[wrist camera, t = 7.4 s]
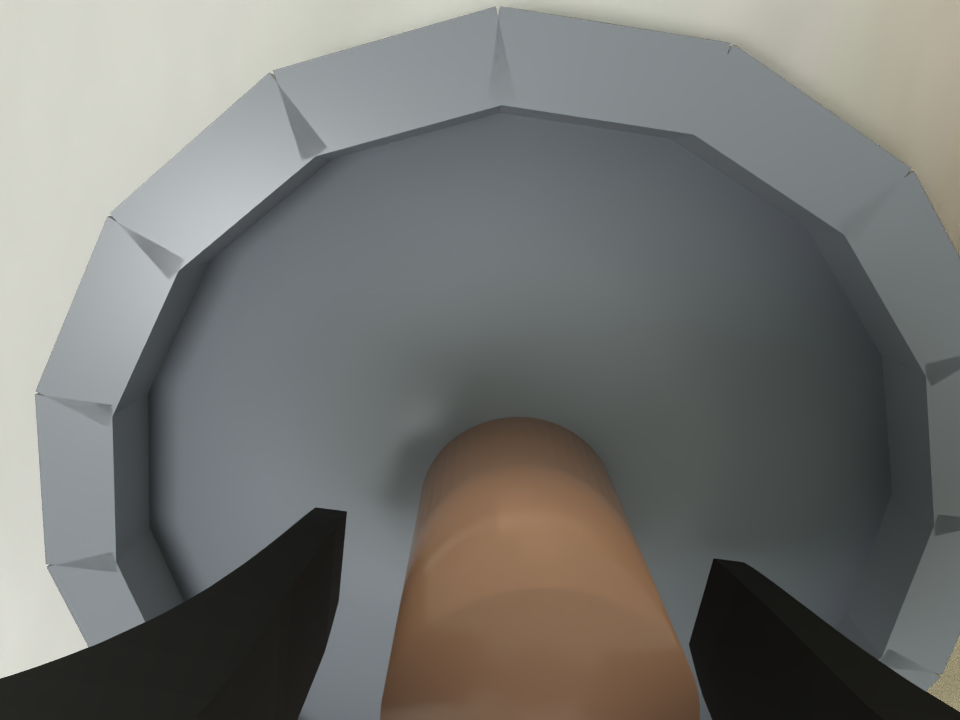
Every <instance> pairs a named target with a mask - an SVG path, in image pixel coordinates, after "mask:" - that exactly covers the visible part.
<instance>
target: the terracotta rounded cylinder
mask: <svg viewBox="0 0 960 720" xmlns="http://www.w3.org/2000/svg"><path fill="white" fill-rule="evenodd" d="M699 719H700V704H699V694H698V690H697V686H696V683H695V679H694V676H693V673H692V671H691V669H690V666H689V664H688V661H687V659H686V657H685V654H684V652H683V650H682V647H681V645H680V642H679V640H678V638H677V635H676V633H675V631H674V628H673V626H672V624H671V621H670V619H669V616H668V614H667V612H666V609H665V607H664V605H663V602H662V600H661V597H660V595H659V593H658V590H657V588H656V586H655V583H654V581H653V579H652V576H651V574H650V571H649V569H648V567H647V564H646V562H645V560H644V557H643V555H642V552H641V550H640V548H639V545H638V543H637V541H636V538H635V536H634V534H633V531H632V529H631V526H630V524H629V522H628V519H627V517H626V515H625V512H624V510H623V507H622V505H621V503H620V500H619V498H618V496H617V493H616V491H615V489H614V486H613V484H612V481H611V479H610V477H609V474H608V472H607V470H606V468H605V466H604V464H603V462H602V461H601V459H600V458H599V456H598V455H597V453H596V452H595V451H594V450H593V449H592V448H591V446H590V445H589V444H588V443H586V442H585V441H584V440H583V439H582V438H581V437H579V436H578V435H576V434H575V433H573V432H572V431H570V430H568V429H566V428H564V427H562V426H560V425H558V424H555V423H552V422H549V421H546V420H541V419H536V418H528V417H508V418H501V419H495V420H491V421H488V422H484V423H481V424H479V425H477V426H474V427H472V428H470V429H468V430H466V431H465V432H463V433H461V434H460V435H458V436H457V437H456V438H454V439H453V440H452V441H451V442H449V443H448V444H447V445H446V446H445V447H444V448H443V449H442V450H441V451H440V453H439V454H438V455H437V457H436V458H435V459H434V461H433V462H432V464H431V466H430V468H429V470H428V472H427V474H426V477H425V479H424V482H423V486H422V491H421V496H420V501H419V507H418V512H417V517H416V523H415V528H414V533H413V538H412V544H411V549H410V554H409V559H408V565H407V570H406V575H405V581H404V586H403V591H402V596H401V602H400V607H399V612H398V617H397V623H396V628H395V633H394V638H393V644H392V649H391V654H390V660H389V665H388V670H387V675H386V681H385V686H384V691H383V696H382V702H381V713H380V720H699Z"/></svg>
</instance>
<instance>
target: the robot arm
mask: <svg viewBox="0 0 960 720" xmlns="http://www.w3.org/2000/svg"><path fill="white" fill-rule="evenodd" d="M346 518H347V511H340V510H333V509H325V508H317V507H315V508H314V509H312V510H311V511H310V512H308V513H307V514H306V515H305V516H303V517H302V518H301V519H300V520H299V521H297V522H296V523H295V524H294V525H293V526H291V527H290V528H289V529H288V530H286V531H285V532H284V533H283V534H282V535H280V536H279V537H278V538H277V539H275V540H274V541H273V542H272V543H270V544H269V545H268V546H266V547H265V548H264V549H262V550H261V551H260V552H258V553H257V554H256V555H255V556H253V557H252V558H251V559H249V560H248V561H247V562H245V563H244V564H242V565H241V566H240V567H238V568H237V569H235V570H234V571H232V572H231V573H229V574H228V575H226V576H225V577H223V578H222V579H221V580H219V581H218V582H216V583H215V584H213V585H212V586H210V587H209V588H207V589H205V590H204V591H202V592H200V593H199V594H197V595H195V596H194V597H192V598H190V599H188V600H187V601H185V602H183V603H181V604H179V605H177V606H176V607H174V608H172V609H170V610H168V611H167V612H165V613H163V614H161V615H159V616H157V617H155V618H153V619H151V620H149V621H146V622H144V623H142V624H140V625H138V626H136V627H133V628H131V629H129V630H127V631H125V632H123V633H120V634H118V635H116V636H114V637H112V638H110V639H107V640H105V641H103V642H101V643H98V644H96V645H94V646H91V647H88V648H86V649H83V650H81V651H78V652H76V653H73V654H71V655H68V656H66V657H63V658H60V659H57V660H55V661H52V662H49V663H46V664H43V665H41V666H38V667H35V668H32V669H29V670H26V671H23V672H20V673H17V674H14V675H11V676H8V677H4V678H1V679H0V720H298V717H299V715H300V712H301V710H302V707H303V705H304V703H305V700H306V698H307V695H308V693H309V690H310V688H311V685H312V683H313V680H314V678H315V675H316V673H317V670H318V668H319V665H320V663H321V660H322V658H323V655H324V653H325V650H326V646H327V643H328V639H329V636H330V632H331V629H332V625H333V621H334V617H335V614H336V610H337V606H338V602H339V593H340V583H341V572H342V561H343V550H344V539H345V529H346ZM689 647H690V651H691V655H692V659H693V663H694V667H695V671H696V675H697V678H698V682H699V685H700V689H701V692H702V696H703V698H704V701H705V703H706V706H707V708H708V711H709V713H710V716H711V718H712V720H960V712H959V711H957V710H955V709H954V708H952V707H950V706H949V705H947V704H946V703H944V702H942V701H941V700H939V699H937V698H936V697H934V696H933V695H931V694H929V693H928V692H926V691H924V690H923V689H921V688H919V687H918V686H916V685H915V684H913V683H912V682H910V681H909V680H907V679H906V678H904V677H902V676H901V675H899V674H898V673H896V672H895V671H894V670H892V669H891V668H889V667H888V666H886V665H885V664H883V663H882V662H881V661H879V660H878V659H876V658H875V657H873V656H872V655H870V654H869V653H868V652H866V651H865V650H863V649H862V648H860V647H859V646H858V645H856V644H855V643H854V642H852V641H851V640H849V639H848V638H847V637H845V636H844V635H843V634H841V633H840V632H838V631H837V630H836V629H834V628H833V627H832V626H830V625H829V624H828V623H826V622H825V621H824V620H822V619H821V618H820V617H818V616H817V615H816V614H815V613H813V612H812V611H811V610H809V609H808V608H807V607H805V606H804V605H803V604H801V603H800V602H799V601H798V600H796V599H795V598H794V597H792V596H791V595H790V594H788V593H787V592H786V591H784V590H783V589H782V588H780V587H779V586H778V585H776V584H775V583H774V582H772V581H771V580H770V579H768V578H767V577H766V576H764V575H763V574H761V573H760V572H759V571H757V570H756V569H754V568H753V567H751V566H749V565H748V564H746V563H744V562H739V561H731V560H723V559H715V558H713V562H712V565H711V569H710V572H709V576H708V579H707V583H706V586H705V590H704V593H703V597H702V600H701V604H700V607H699V611H698V614H697V618H696V621H695V624H694V628H693V631H692V635H691V638H690V642H689Z"/></svg>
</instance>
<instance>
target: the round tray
mask: <svg viewBox="0 0 960 720" xmlns="http://www.w3.org/2000/svg"><path fill="white" fill-rule="evenodd" d="M729 45H730V43H728V42H721V41H715V40H709V39H703V38H696V37H690V36H684V35H677V34H671V33H665V32H659V31H652V30H646V29H640V28H633V27H627V26H621V25H615V24H608V23H602V22H596V21H589V20H583V19H577V18H571V17H564V16H558V15H552V14H545V13H539V12H533V11H527V10H520V9H514V8H508V7H501V6H500V11H499V18H498V15H497V11H496V7H492V8H489V9H485V10H482V11H478V12H475V13H471V14H468V15H464V16H461V17H457V18H454V19H450V20H447V21H444V22H440V23H437V24H433V25H430V26H426V27H423V28H419V29H416V30H412V31H409V32H405V33H402V34H398V35H395V36H391V37H388V38H384V39H381V40H377V41H374V42H370V43H367V44H363V45H360V46H357V47H353V48H350V49H346V50H343V51H339V52H336V53H332V54H329V55H325V56H322V57H318V58H315V59H311V60H308V61H304V62H301V63H297V64H294V65H290V66H287V67H283V68H280V69H276V70H273V72H274V75H273V74H271V73H268V74H267V75H266V76H265V77H264V78H262V79H261V80H260V81H259V82H258V83H257V84H256V85H255V86H253V87H252V88H251V89H250V90H249V91H248V92H247V93H245V94H244V95H243V96H242V97H241V98H240V99H239V100H238V101H236V102H235V103H234V104H233V105H232V106H231V107H230V108H228V109H227V110H226V111H225V112H224V113H223V114H222V115H221V116H219V117H218V118H217V119H216V120H215V121H214V122H213V123H211V124H210V125H209V126H208V127H207V128H206V129H205V130H204V131H202V132H201V133H200V134H199V135H198V136H197V137H196V138H194V139H193V140H192V141H191V142H190V143H189V144H188V145H187V146H185V147H184V148H183V149H182V150H181V151H180V152H179V153H177V154H176V155H175V156H174V157H173V158H172V159H171V160H170V161H168V162H167V163H166V164H165V165H164V166H163V167H162V168H160V169H159V170H158V171H157V172H156V173H155V174H154V175H153V176H151V177H150V178H149V179H148V180H147V181H146V182H145V183H143V184H142V185H141V186H140V187H139V188H138V189H137V190H136V191H134V192H133V193H132V194H131V195H130V196H129V197H128V198H126V199H125V200H124V201H123V202H122V203H121V204H120V205H119V206H117V207H116V208H115V209H114V210H113V211H112V212H111V213H110V214H111V216H109V217H107V219H106V221H105V223H104V226H103V228H102V231H101V233H100V236H99V238H98V241H97V243H96V245H95V248H94V250H93V253H92V255H91V258H90V260H89V262H88V265H87V267H86V270H85V272H84V275H83V277H82V279H81V282H80V284H79V287H78V289H77V292H76V294H75V296H74V299H73V301H72V304H71V306H70V309H69V311H68V313H67V316H66V318H65V321H64V323H63V326H62V328H61V330H60V333H59V335H58V338H57V340H56V343H55V345H54V348H53V350H52V352H51V355H50V357H49V360H48V362H47V365H46V367H45V369H44V372H43V374H42V377H41V379H40V382H39V384H38V386H37V389H36V392H38V393H37V394H35V402H36V418H37V433H38V449H39V465H40V480H41V496H42V511H43V527H44V543H45V558H46V564H50V565H49V566H47V569H48V570H49V572H50V574H51V576H52V578H53V580H54V582H55V584H56V586H57V588H58V590H59V591H60V593H61V595H62V597H63V599H64V601H65V603H66V605H67V607H68V609H69V611H70V612H71V614H72V616H73V618H74V620H75V622H76V624H77V626H78V628H79V630H80V632H81V633H82V635H83V637H84V639H85V641H86V643H87V645H88V647H91V646H94V645H96V644H98V643H101V642H103V641H105V640H107V639H110V638H112V637H114V636H116V635H118V634H120V633H123V632H125V631H127V630H129V629H131V628H133V627H136V626H138V625H140V624H142V623H144V622H146V621H149V620H151V619H153V618H155V617H157V616H159V615H161V614H163V613H165V612H167V611H168V610H170V609H172V608H174V607H176V606H177V605H179V604H181V603H183V602H185V601H187V600H188V599H190V598H192V597H194V596H195V595H197V594H199V593H200V592H202V591H204V590H205V589H207V588H209V587H210V586H212V585H213V584H215V583H216V582H218V581H219V580H221V579H222V578H223V577H225V576H226V575H228V574H229V573H231V572H232V571H234V570H235V569H237V568H238V567H240V566H241V565H242V564H244V563H245V562H247V561H248V560H249V559H251V558H252V557H253V556H255V555H256V554H257V553H258V552H260V551H261V550H262V549H264V548H265V547H266V546H268V545H269V544H270V543H272V542H273V541H274V540H275V539H277V538H278V537H279V536H280V535H282V534H283V533H284V532H285V531H286V530H288V529H289V528H290V527H291V526H293V525H294V524H295V523H296V522H297V521H299V520H300V519H301V518H302V517H303V516H305V515H306V514H307V513H308V512H310V511H311V510H312V509H314V508H315V507H317V508H325V509H333V510H340V511H347V518H346V529H345V539H344V550H343V561H342V572H341V583H340V593H339V602H338V606H337V610H336V614H335V617H334V621H333V625H332V629H331V632H330V636H329V639H328V643H327V646H326V650H325V653H324V655H323V658H322V660H321V663H320V665H319V668H318V670H317V673H316V675H315V678H314V680H313V683H312V685H311V688H310V690H309V693H308V695H307V698H306V700H305V703H304V705H303V707H302V710H301V712H300V715H299V717H298V720H380V713H381V702H382V696H383V691H384V686H385V681H386V675H387V670H388V665H389V660H390V654H391V649H392V644H393V638H394V633H395V628H396V623H397V617H398V612H399V607H400V602H401V596H402V591H403V586H404V581H405V575H406V570H407V565H408V559H409V554H410V549H411V544H412V538H413V533H414V528H415V523H416V517H417V512H418V507H419V501H420V496H421V491H422V486H423V482H424V479H425V477H426V474H427V472H428V470H429V468H430V466H431V464H432V462H433V461H434V459H435V458H436V457H437V455H438V454H439V453H440V451H441V450H442V449H443V448H444V447H445V446H446V445H447V444H448V443H449V442H451V441H452V440H453V439H454V438H456V437H457V436H458V435H460V434H461V433H463V432H465V431H466V430H468V429H470V428H472V427H474V426H477V425H479V424H481V423H484V422H488V421H491V420H495V419H501V418H508V417H528V418H536V419H541V420H546V421H549V422H552V423H555V424H558V425H560V426H562V427H564V428H566V429H568V430H570V431H572V432H573V433H575V434H576V435H578V436H579V437H581V438H582V439H583V440H584V441H585V442H586V443H588V444H589V445H590V446H591V448H592V449H593V450H594V451H595V452H596V453H597V455H598V456H599V458H600V459H601V461H602V462H603V464H604V466H605V468H606V470H607V472H608V474H609V477H610V479H611V481H612V484H613V486H614V489H615V491H616V493H617V496H618V498H619V500H620V503H621V505H622V507H623V510H624V512H625V515H626V517H627V519H628V522H629V524H630V526H631V529H632V531H633V534H634V536H635V538H636V541H637V543H638V545H639V548H640V550H641V552H642V555H643V557H644V560H645V562H646V564H647V567H648V569H649V571H650V574H651V576H652V579H653V581H654V583H655V586H656V588H657V590H658V593H659V595H660V597H661V600H662V602H663V605H664V607H665V609H666V612H667V614H668V616H669V619H670V621H671V624H672V626H673V628H674V631H675V633H676V635H677V638H678V640H679V642H680V645H681V647H682V650H683V652H684V654H685V657H686V659H687V661H688V664H689V666H690V669H691V671H692V673H693V676H694V679H695V683H696V686H697V690H698V694H699V704H700V719H699V720H712V718H711V716H710V713H709V711H708V708H707V706H706V703H705V701H704V698H703V696H702V692H701V689H700V685H699V682H698V678H697V675H696V671H695V667H694V663H693V659H692V655H691V651H690V647H689V642H690V638H691V635H692V631H693V628H694V624H695V621H696V618H697V614H698V611H699V607H700V604H701V600H702V597H703V593H704V590H705V586H706V583H707V579H708V576H709V572H710V569H711V565H712V562H713V558H715V559H723V560H731V561H739V562H744V563H746V564H748V565H749V566H751V567H753V568H754V569H756V570H757V571H759V572H760V573H761V574H763V575H764V576H766V577H767V578H768V579H770V580H771V581H772V582H774V583H775V584H776V585H778V586H779V587H780V588H782V589H783V590H784V591H786V592H787V593H788V594H790V595H791V596H792V597H794V598H795V599H796V600H798V601H799V602H800V603H801V604H803V605H804V606H805V607H807V608H808V609H809V610H811V611H812V612H813V613H815V614H816V615H817V616H818V617H820V618H821V619H822V620H824V621H825V622H826V623H828V624H829V625H830V626H832V627H833V628H834V629H836V630H837V631H838V632H840V633H841V634H843V635H844V636H845V637H847V638H848V639H849V640H851V641H852V642H854V643H855V644H856V645H858V646H859V647H860V648H862V649H863V650H865V651H866V652H868V653H869V654H870V655H872V656H873V657H875V658H876V659H878V660H879V661H881V662H882V663H883V664H885V665H886V666H888V667H889V668H891V669H892V670H894V671H895V672H896V673H898V674H899V675H901V676H902V677H904V678H906V679H907V680H909V681H910V682H912V683H913V684H915V685H916V686H918V687H919V688H921V689H923V690H924V691H927V690H928V689H929V688H930V687H931V686H932V685H933V684H934V683H935V682H936V681H937V680H938V679H939V678H940V676H939V674H943V671H944V669H945V667H946V665H947V662H948V660H949V658H950V655H951V653H952V651H953V648H954V646H955V644H956V642H957V639H958V637H959V635H960V257H959V255H958V253H957V252H956V250H955V248H954V246H953V244H952V242H951V240H950V238H949V236H948V235H947V233H946V231H945V229H944V227H943V225H942V223H941V221H940V220H939V218H938V216H937V214H936V212H935V210H934V208H933V206H932V204H931V203H930V201H929V199H928V197H927V195H926V193H925V191H924V189H923V187H922V186H921V184H920V182H919V180H918V178H917V176H916V174H915V172H914V171H910V169H911V168H910V167H909V166H907V165H906V164H904V163H903V162H902V161H900V160H899V159H897V158H896V157H894V156H893V155H892V154H890V153H889V152H887V151H886V150H884V149H883V148H881V147H880V146H879V145H877V144H876V143H874V142H873V141H871V140H870V139H869V138H867V137H866V136H864V135H863V134H861V133H860V132H859V131H857V130H856V129H854V128H853V127H851V126H850V125H849V124H847V123H846V122H844V121H843V120H841V119H840V118H839V117H837V116H836V115H834V114H833V113H831V112H830V111H829V110H827V109H826V108H824V107H823V106H821V105H820V104H819V103H817V102H816V101H814V100H813V99H811V98H810V97H809V96H807V95H806V94H804V93H803V92H801V91H800V90H798V89H797V88H796V87H794V86H793V85H791V84H790V83H788V82H787V81H786V80H784V79H783V78H781V77H780V76H778V75H777V74H776V73H774V72H773V71H771V70H770V69H768V68H767V67H766V66H764V65H763V64H761V63H760V62H758V61H757V60H756V59H754V58H753V57H751V56H750V55H748V54H747V53H746V52H744V51H743V50H741V49H740V48H738V47H737V46H736V45H732V46H730V47H729Z"/></svg>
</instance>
